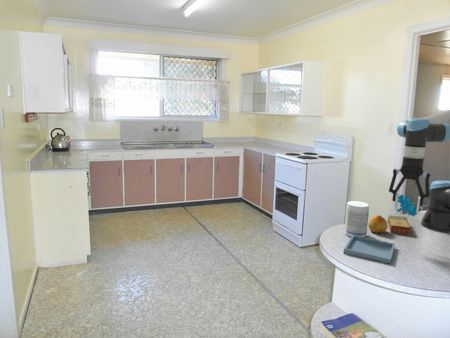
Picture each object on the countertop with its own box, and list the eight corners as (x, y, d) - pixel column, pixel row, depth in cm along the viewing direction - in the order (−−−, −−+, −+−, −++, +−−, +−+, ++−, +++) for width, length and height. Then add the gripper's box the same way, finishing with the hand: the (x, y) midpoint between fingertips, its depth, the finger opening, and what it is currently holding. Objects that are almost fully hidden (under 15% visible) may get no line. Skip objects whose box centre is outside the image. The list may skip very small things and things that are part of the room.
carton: (390, 233, 165) (391, 224, 164) (387, 222, 180) (388, 214, 179) (409, 236, 162) (411, 227, 161) (405, 224, 177) (406, 216, 176)
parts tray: (394, 248, 148) (395, 243, 147) (389, 264, 133) (390, 259, 133) (352, 239, 156) (352, 235, 156) (343, 253, 142) (343, 248, 141)
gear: (409, 215, 142) (396, 193, 147) (397, 222, 146) (385, 200, 150) (423, 214, 148) (410, 193, 153) (411, 221, 152) (399, 200, 157)
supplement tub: (370, 238, 158) (374, 206, 155) (351, 239, 156) (354, 207, 153) (358, 230, 167) (361, 200, 164) (339, 231, 165) (342, 201, 162)
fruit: (384, 232, 159) (386, 215, 161) (365, 229, 163) (367, 213, 166) (387, 236, 165) (389, 219, 168) (368, 233, 170) (370, 217, 172)
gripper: (385, 155, 146) (378, 208, 150) (442, 161, 136) (434, 217, 140) (387, 153, 152) (381, 204, 157) (442, 158, 142) (434, 212, 147)
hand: (406, 210), depth 148 cm, fingers closed on gear, 7 cm apart
